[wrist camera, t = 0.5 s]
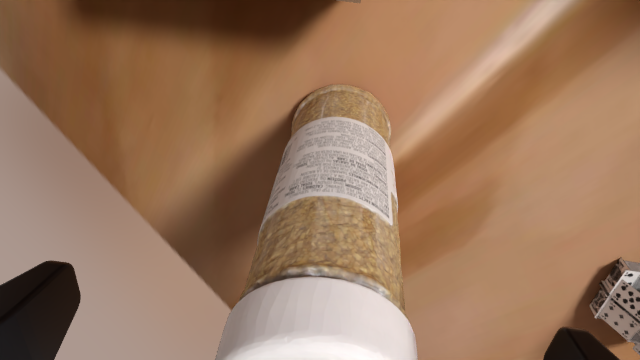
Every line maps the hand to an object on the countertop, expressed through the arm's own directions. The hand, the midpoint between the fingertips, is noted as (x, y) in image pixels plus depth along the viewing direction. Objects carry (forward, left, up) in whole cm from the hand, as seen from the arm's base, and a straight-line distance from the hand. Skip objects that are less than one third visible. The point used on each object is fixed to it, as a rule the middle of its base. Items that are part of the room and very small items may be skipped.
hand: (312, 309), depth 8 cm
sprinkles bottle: (-3, 0, -13) cm, 13 cm away
